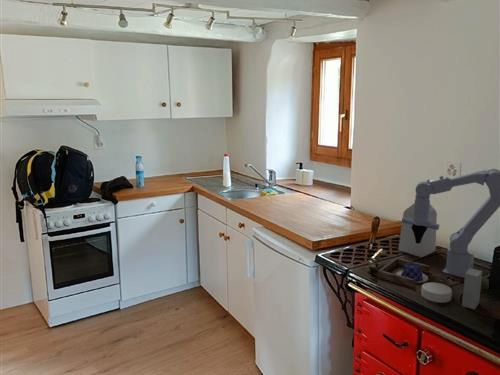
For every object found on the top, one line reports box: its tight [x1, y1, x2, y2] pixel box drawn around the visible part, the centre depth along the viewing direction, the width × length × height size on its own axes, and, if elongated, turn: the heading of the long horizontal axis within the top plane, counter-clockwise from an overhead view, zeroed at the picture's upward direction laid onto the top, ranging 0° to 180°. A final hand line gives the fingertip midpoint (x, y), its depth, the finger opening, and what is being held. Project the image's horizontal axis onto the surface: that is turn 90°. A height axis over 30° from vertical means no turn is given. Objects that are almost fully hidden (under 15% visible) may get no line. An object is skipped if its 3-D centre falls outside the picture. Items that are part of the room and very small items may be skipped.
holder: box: [377, 257, 431, 288], centre depth 172 cm, size 14×18×3 cm
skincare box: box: [461, 268, 483, 310], centre depth 146 cm, size 6×4×12 cm
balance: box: [366, 248, 387, 271], centre depth 180 cm, size 13×4×7 cm, turn 139°
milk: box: [397, 202, 438, 258], centre depth 196 cm, size 12×12×26 cm
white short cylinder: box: [420, 282, 453, 304], centre depth 153 cm, size 10×10×4 cm
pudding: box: [395, 263, 429, 284], centre depth 169 cm, size 12×12×5 cm
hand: (418, 242), depth 178 cm, fingers closed
